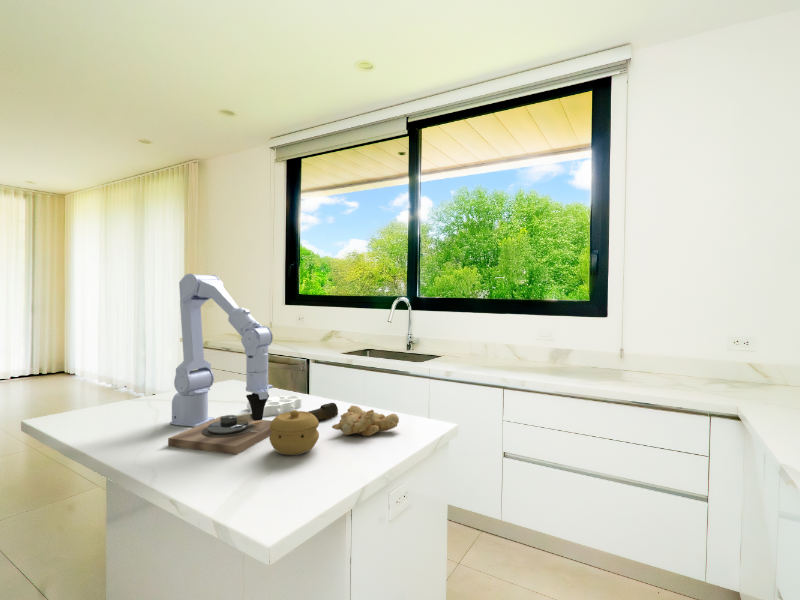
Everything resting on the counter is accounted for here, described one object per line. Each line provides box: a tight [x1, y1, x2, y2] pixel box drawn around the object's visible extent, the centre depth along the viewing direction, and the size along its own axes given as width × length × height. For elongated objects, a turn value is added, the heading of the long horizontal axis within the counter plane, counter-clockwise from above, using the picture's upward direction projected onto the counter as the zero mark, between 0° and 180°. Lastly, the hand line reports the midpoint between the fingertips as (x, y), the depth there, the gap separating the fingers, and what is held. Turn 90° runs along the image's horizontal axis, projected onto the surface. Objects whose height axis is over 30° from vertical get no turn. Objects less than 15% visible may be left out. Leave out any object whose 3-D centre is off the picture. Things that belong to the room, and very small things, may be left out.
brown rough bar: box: [307, 402, 339, 421], centre depth 125 cm, size 19×4×5 cm, turn 136°
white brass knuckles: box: [246, 395, 303, 418], centre depth 139 cm, size 3×18×15 cm
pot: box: [268, 409, 320, 456], centre depth 102 cm, size 12×12×10 cm
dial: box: [208, 412, 254, 435], centre depth 113 cm, size 14×10×3 cm
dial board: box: [167, 415, 272, 456], centre depth 112 cm, size 20×20×2 cm
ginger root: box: [331, 405, 400, 437], centre depth 117 cm, size 16×16×8 cm
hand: (257, 419), depth 116 cm, fingers closed, pressing on dial
